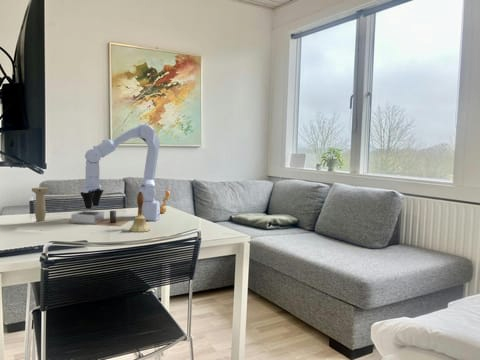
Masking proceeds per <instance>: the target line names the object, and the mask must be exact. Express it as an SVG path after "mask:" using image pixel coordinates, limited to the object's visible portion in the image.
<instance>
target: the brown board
mask: <svg viewBox="0 0 480 360" xmlns="http://www.w3.org/2000/svg"><path fill="white" fill-rule="evenodd" d="M130 221H131V219H130V220H129V219H117V210H109V218H108V219H107V218H104V220H102V221H100V222H98V223H96V224H83V223H71V222H69V223H68V224H70V225H72V224H73V225H88V226H105V227H108V226H109V227H121V226H123V225H125V224H126V223H129V222H130Z"/></svg>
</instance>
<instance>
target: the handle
mask: <svg viewBox="0 0 480 360" xmlns="http://www.w3.org/2000/svg"><path fill="white" fill-rule="evenodd" d="M49 191H50V188H49V187H42V186H41V187H31V192H32V193H35V208H34V209H35V211H34V214H35V219H36V222H39V223H41V222H45V220H46V213H47V212H46V211H47V210H46V195H45V194H46V193H48V192H49Z"/></svg>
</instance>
